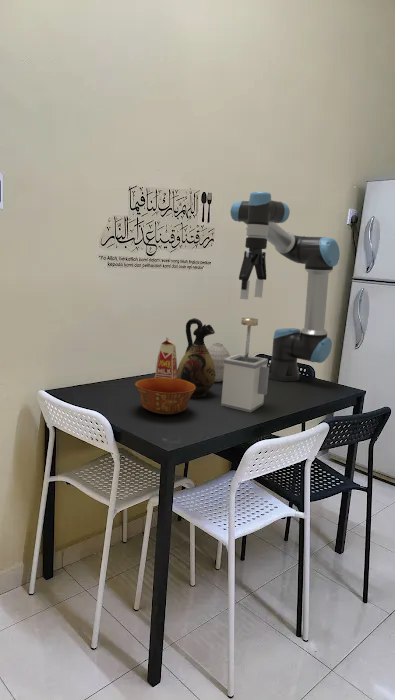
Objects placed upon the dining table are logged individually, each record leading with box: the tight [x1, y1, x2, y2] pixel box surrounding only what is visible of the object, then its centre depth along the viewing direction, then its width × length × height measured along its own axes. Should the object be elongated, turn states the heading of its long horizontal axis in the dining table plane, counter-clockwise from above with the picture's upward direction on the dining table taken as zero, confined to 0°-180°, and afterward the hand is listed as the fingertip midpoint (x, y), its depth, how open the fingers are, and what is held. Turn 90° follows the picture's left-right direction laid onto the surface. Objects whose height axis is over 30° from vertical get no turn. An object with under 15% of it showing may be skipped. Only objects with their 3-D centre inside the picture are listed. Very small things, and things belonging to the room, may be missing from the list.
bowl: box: [134, 377, 196, 415], centre depth 182 cm, size 21×21×10 cm
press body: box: [220, 353, 269, 413], centre depth 193 cm, size 12×15×18 cm
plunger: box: [240, 317, 259, 362], centre depth 191 cm, size 9×9×22 cm
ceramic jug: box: [177, 317, 216, 398], centre depth 204 cm, size 17×15×30 cm
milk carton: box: [153, 337, 178, 379], centre depth 218 cm, size 9×9×20 cm
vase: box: [207, 341, 231, 383], centre depth 228 cm, size 13×13×17 cm
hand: (251, 298), depth 187 cm, fingers open, 12 cm apart
